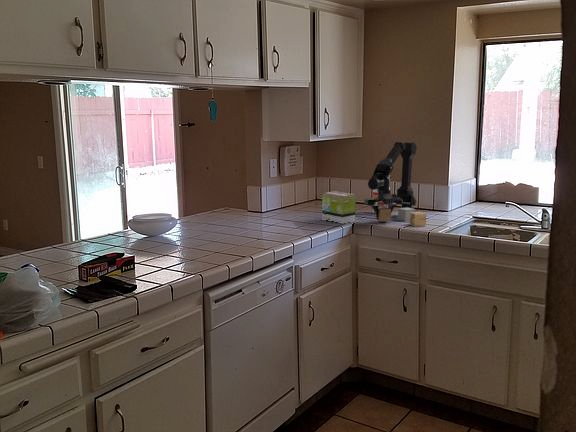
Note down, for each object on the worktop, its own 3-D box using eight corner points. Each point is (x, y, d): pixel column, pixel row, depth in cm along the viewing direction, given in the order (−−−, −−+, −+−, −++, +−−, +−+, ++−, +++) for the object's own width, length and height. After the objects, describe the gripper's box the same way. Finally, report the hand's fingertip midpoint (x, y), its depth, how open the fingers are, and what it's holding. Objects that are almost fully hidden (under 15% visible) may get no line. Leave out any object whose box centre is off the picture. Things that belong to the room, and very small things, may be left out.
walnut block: (375, 219, 299) (375, 207, 298) (386, 218, 301) (386, 207, 300) (379, 221, 294) (379, 209, 293) (390, 220, 295) (391, 209, 294)
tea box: (321, 220, 304) (321, 192, 301) (334, 218, 310) (334, 190, 308) (342, 224, 293) (342, 195, 290) (355, 221, 299) (356, 193, 297)
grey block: (398, 219, 304) (398, 208, 303) (407, 218, 307) (407, 207, 306) (405, 221, 299) (405, 210, 298) (414, 220, 302) (414, 209, 301)
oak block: (409, 224, 292) (410, 212, 291) (420, 223, 293) (421, 211, 292) (414, 226, 286) (415, 214, 285) (426, 225, 288) (426, 213, 286)
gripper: (371, 190, 284) (371, 221, 287) (407, 189, 288) (406, 219, 291) (364, 187, 295) (363, 217, 298) (398, 186, 299) (397, 216, 302)
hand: (383, 217), depth 297 cm, fingers closed on walnut block, 6 cm apart
